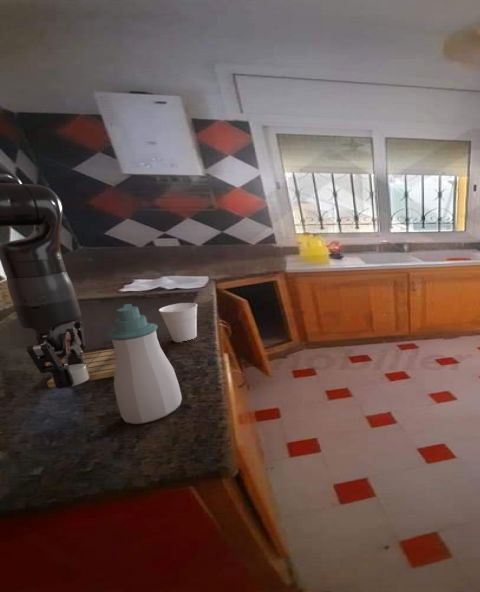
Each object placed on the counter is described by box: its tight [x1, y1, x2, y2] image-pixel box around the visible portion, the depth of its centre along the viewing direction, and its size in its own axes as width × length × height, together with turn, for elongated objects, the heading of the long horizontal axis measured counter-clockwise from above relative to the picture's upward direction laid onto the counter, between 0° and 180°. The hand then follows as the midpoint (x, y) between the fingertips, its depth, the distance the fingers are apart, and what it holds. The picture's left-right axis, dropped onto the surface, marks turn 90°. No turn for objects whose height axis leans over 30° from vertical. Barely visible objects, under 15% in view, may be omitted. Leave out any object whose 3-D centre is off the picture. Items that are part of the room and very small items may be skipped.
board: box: [46, 348, 116, 389], centre depth 86 cm, size 17×17×2 cm
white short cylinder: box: [50, 364, 89, 388], centre depth 62 cm, size 5×5×3 cm
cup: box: [158, 302, 198, 343], centre depth 101 cm, size 10×10×11 cm
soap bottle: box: [106, 303, 183, 425], centre depth 64 cm, size 10×10×23 cm
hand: (72, 380), depth 62 cm, fingers closed on white short cylinder, 4 cm apart
